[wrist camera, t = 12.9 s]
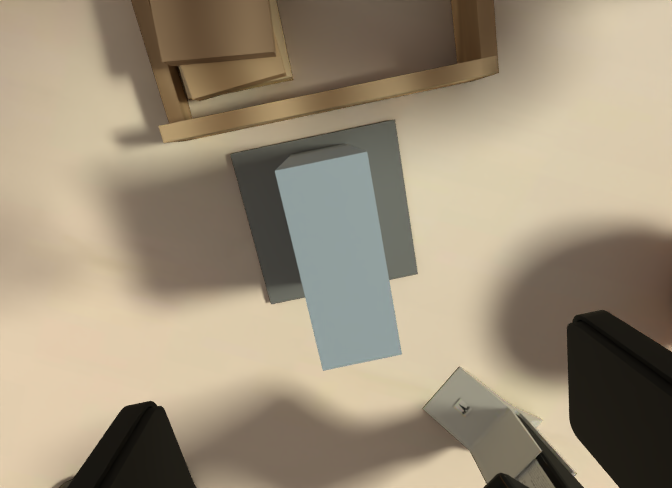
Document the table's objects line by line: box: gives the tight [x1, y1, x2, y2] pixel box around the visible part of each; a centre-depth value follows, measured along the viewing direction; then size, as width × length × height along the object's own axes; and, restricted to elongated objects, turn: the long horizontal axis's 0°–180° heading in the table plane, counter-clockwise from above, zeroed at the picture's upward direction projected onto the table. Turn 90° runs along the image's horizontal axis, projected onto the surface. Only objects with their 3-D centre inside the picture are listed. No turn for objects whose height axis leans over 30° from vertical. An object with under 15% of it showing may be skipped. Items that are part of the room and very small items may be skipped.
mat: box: [230, 120, 418, 304], centre depth 30 cm, size 12×12×1 cm
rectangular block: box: [275, 143, 402, 371], centre depth 24 cm, size 4×10×12 cm, turn 11°
